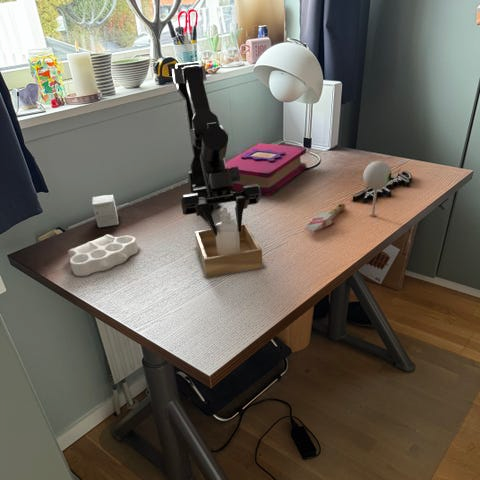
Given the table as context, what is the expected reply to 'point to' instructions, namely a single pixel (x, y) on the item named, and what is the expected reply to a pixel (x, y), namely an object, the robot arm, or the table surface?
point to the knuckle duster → (101, 254)
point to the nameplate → (394, 182)
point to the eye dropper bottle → (227, 235)
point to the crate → (229, 262)
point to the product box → (105, 210)
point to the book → (267, 166)
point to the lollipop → (377, 177)
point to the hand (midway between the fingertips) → (228, 233)
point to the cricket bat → (323, 218)
